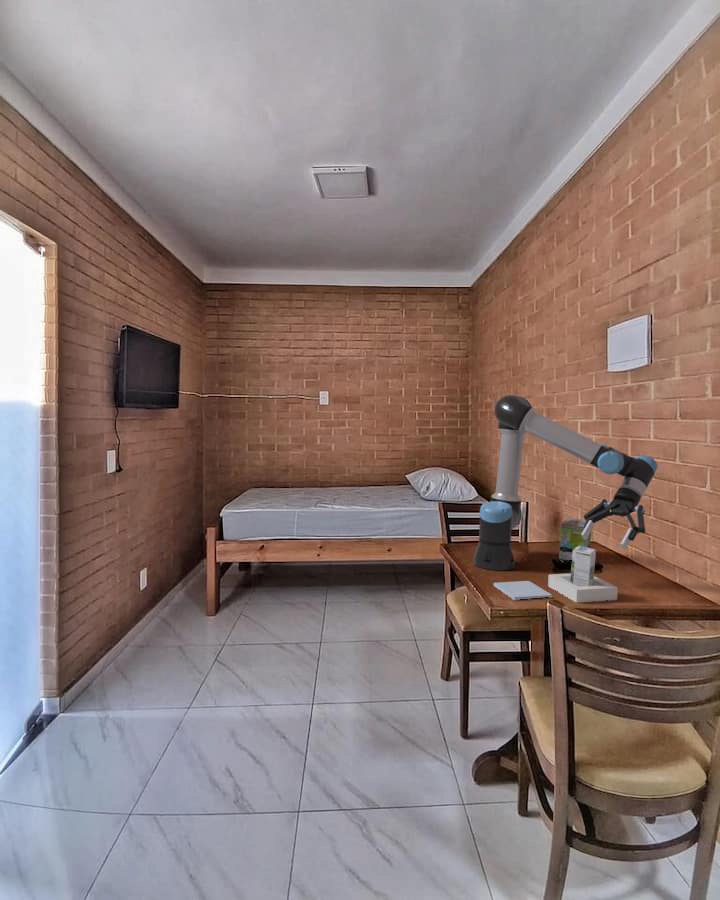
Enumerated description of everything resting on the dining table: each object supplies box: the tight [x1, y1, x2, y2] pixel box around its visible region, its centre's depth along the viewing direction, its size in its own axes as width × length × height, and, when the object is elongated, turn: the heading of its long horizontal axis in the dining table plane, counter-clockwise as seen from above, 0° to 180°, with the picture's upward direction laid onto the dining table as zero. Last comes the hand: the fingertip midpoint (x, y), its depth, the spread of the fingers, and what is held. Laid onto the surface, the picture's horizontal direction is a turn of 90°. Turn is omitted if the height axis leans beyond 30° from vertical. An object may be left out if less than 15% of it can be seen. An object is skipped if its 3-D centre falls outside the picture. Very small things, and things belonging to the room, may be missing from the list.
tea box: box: [558, 517, 592, 561], centre depth 198 cm, size 15×10×15 cm
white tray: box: [547, 572, 619, 604], centre depth 157 cm, size 14×14×4 cm
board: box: [493, 580, 553, 601], centre depth 156 cm, size 13×13×1 cm
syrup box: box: [570, 546, 597, 587], centre depth 156 cm, size 6×6×14 cm
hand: (602, 541), depth 160 cm, fingers open, 13 cm apart
